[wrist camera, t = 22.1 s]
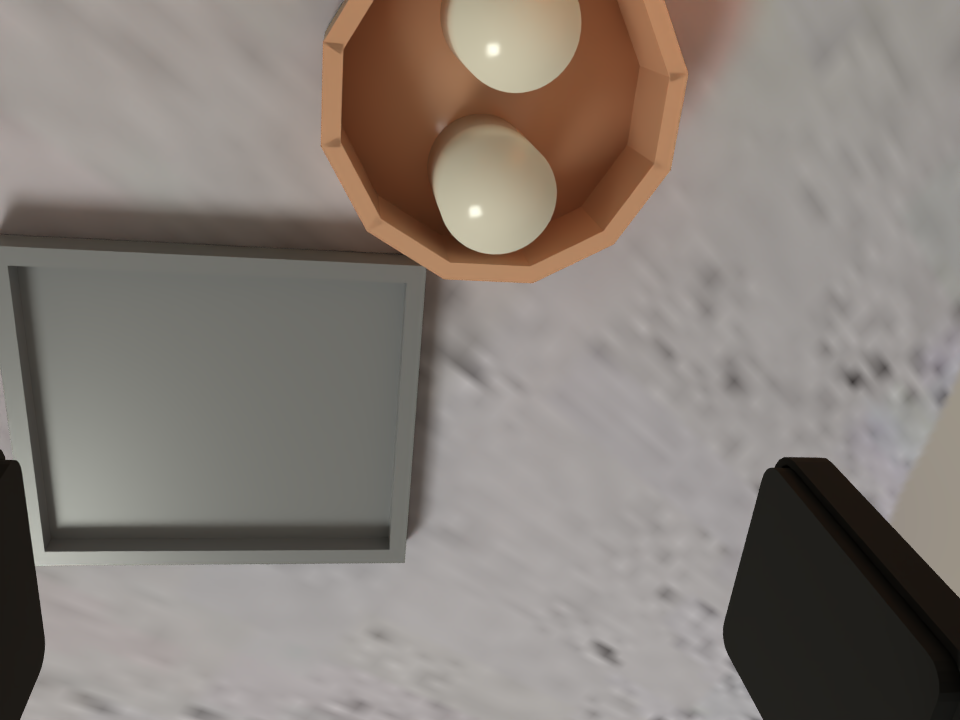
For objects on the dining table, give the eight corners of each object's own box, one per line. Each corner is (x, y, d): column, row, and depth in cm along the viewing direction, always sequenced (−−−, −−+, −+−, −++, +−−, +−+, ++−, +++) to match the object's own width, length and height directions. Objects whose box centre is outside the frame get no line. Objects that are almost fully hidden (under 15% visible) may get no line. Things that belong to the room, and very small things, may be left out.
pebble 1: (443, -51, 33) (458, -50, 29) (557, -42, 34) (588, -40, 30) (437, 70, 35) (450, 89, 31) (545, 77, 36) (573, 96, 31)
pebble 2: (430, 110, 36) (442, 133, 31) (536, 116, 37) (563, 139, 32) (424, 216, 38) (435, 252, 33) (525, 220, 38) (549, 256, 34)
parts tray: (-4, 234, 36) (-17, 245, 35) (423, 255, 39) (426, 266, 38) (38, 546, 43) (28, 566, 41) (402, 544, 46) (404, 562, 44)
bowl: (328, -110, 33) (326, -118, 29) (672, -70, 35) (715, -72, 31) (320, 239, 38) (317, 273, 34) (618, 254, 40) (648, 288, 36)
